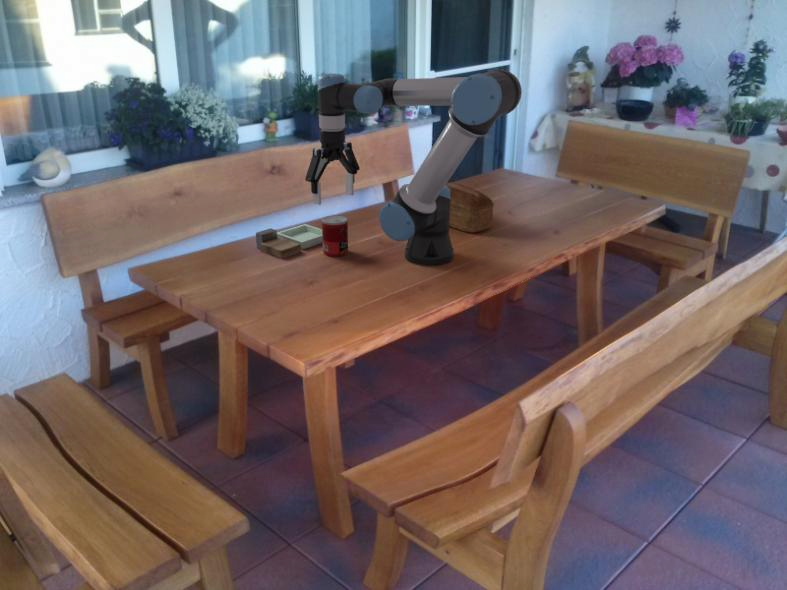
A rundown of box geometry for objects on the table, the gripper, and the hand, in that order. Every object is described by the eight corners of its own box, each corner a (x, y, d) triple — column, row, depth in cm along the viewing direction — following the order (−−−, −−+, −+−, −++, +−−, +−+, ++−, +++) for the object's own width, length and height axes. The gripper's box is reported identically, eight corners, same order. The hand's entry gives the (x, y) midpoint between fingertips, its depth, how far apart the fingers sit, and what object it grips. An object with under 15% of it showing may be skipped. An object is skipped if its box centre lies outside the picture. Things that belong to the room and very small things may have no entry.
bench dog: (277, 245, 241) (276, 230, 239) (262, 249, 237) (261, 234, 235) (271, 242, 243) (270, 228, 241) (256, 247, 239) (255, 232, 237)
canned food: (344, 258, 231) (344, 223, 227) (319, 256, 233) (318, 222, 228) (351, 249, 238) (350, 216, 234) (326, 247, 240) (325, 214, 235)
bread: (474, 237, 250) (476, 198, 245) (409, 216, 270) (410, 179, 265) (497, 229, 258) (500, 191, 252) (432, 209, 278) (433, 173, 273)
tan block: (301, 253, 236) (300, 244, 235) (281, 260, 230) (281, 250, 229) (280, 246, 242) (279, 237, 241) (260, 252, 236) (260, 243, 235)
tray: (331, 239, 246) (331, 232, 245) (302, 249, 237) (301, 242, 236) (305, 230, 254) (305, 223, 253) (275, 240, 245) (275, 233, 244)
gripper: (353, 121, 231) (353, 188, 239) (291, 133, 214) (294, 205, 222) (370, 124, 226) (370, 193, 235) (309, 137, 209) (311, 210, 218)
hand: (333, 199), depth 228 cm, fingers open, 13 cm apart
